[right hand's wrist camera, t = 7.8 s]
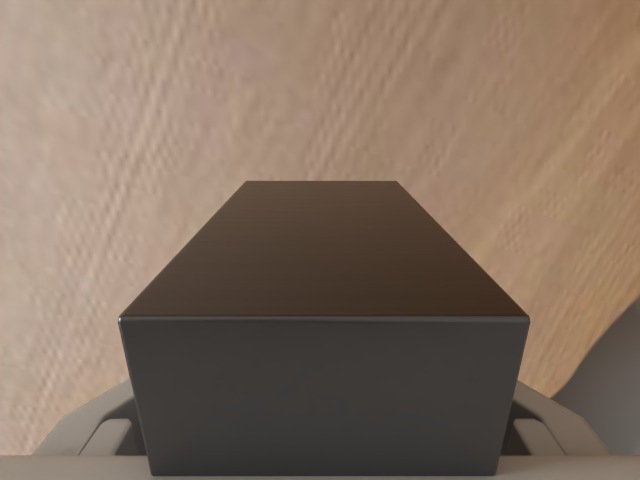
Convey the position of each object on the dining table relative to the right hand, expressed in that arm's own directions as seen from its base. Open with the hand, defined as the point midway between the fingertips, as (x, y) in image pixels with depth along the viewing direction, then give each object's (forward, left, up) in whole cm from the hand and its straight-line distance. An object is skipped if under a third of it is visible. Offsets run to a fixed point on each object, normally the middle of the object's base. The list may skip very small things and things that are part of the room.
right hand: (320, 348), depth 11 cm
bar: (+8, 0, -3) cm, 8 cm away
